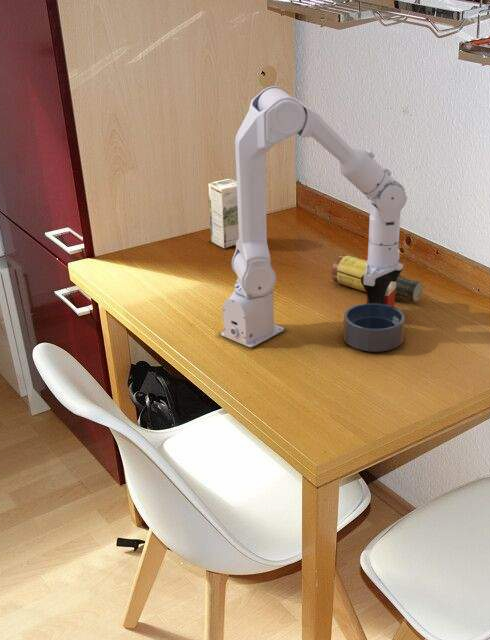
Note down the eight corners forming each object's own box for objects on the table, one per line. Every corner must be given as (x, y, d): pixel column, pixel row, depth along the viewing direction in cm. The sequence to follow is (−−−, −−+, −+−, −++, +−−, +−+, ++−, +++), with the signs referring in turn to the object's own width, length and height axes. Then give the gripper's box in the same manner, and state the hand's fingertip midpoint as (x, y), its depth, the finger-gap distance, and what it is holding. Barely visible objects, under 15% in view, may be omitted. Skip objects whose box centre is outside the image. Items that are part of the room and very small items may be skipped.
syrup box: (231, 236, 199) (228, 177, 192) (245, 244, 196) (242, 183, 188) (210, 242, 196) (207, 181, 188) (224, 249, 192) (221, 188, 185)
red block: (386, 318, 161) (388, 290, 158) (365, 314, 163) (367, 286, 160) (394, 309, 165) (396, 282, 162) (373, 305, 166) (375, 278, 163)
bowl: (379, 360, 149) (381, 336, 146) (331, 341, 155) (331, 317, 152) (414, 338, 157) (416, 314, 154) (366, 321, 162) (368, 297, 160)
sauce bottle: (343, 280, 180) (421, 308, 171) (327, 282, 175) (406, 311, 166) (349, 251, 178) (429, 277, 168) (333, 252, 173) (414, 280, 163)
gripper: (390, 257, 149) (386, 324, 156) (416, 231, 160) (411, 295, 167) (354, 250, 151) (351, 317, 159) (382, 225, 163) (378, 289, 170)
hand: (380, 305), depth 163 cm, fingers closed on red block, 4 cm apart
